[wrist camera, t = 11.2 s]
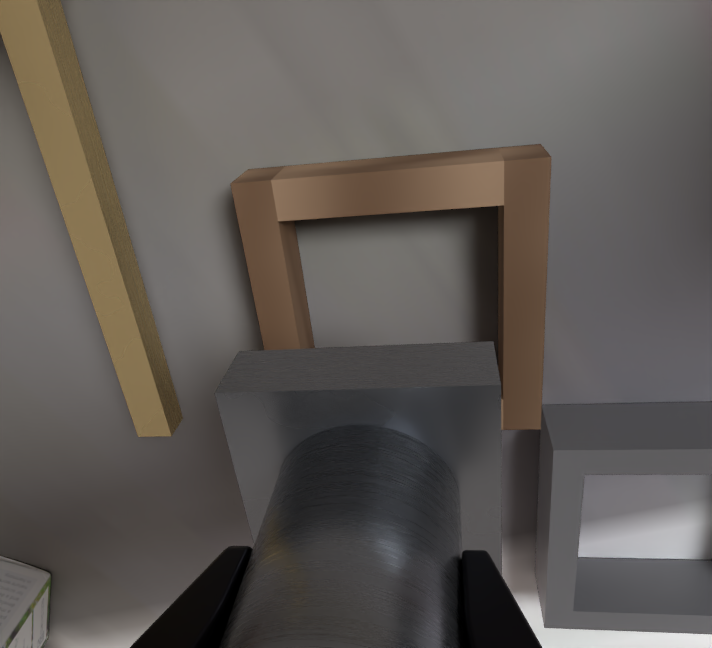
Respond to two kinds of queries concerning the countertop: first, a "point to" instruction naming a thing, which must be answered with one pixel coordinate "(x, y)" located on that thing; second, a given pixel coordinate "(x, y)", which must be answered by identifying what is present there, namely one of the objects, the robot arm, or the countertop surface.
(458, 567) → the grey metal knob
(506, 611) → the robot arm
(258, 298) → the walnut socket
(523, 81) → the countertop surface
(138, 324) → the bar
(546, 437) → the frame
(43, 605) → the syrup box
